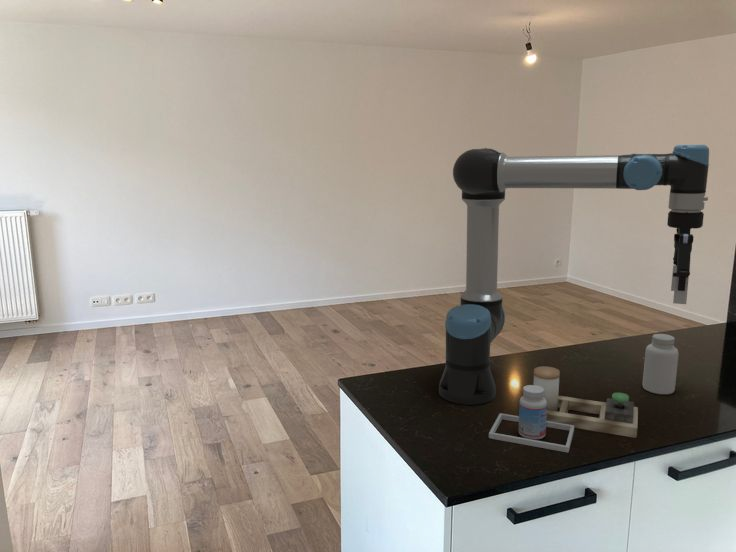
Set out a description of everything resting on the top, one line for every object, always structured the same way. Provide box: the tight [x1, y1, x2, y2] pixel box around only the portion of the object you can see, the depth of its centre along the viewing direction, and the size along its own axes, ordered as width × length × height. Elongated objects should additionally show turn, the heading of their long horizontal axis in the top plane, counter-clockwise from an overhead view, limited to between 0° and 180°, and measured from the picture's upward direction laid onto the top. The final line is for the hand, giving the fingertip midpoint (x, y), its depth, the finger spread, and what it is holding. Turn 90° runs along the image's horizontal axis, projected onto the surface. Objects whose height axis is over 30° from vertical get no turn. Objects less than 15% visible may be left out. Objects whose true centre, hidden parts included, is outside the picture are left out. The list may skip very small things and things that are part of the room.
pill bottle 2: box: [642, 333, 679, 395], centre depth 158 cm, size 8×8×15 cm
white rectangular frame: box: [488, 412, 575, 453], centre depth 136 cm, size 17×11×1 cm, turn 65°
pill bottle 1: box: [518, 384, 547, 440], centre depth 135 cm, size 6×6×11 cm
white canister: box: [533, 365, 561, 412], centre depth 147 cm, size 6×6×11 cm
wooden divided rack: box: [546, 395, 639, 439], centre depth 144 cm, size 26×12×4 cm, turn 65°
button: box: [611, 392, 630, 408], centre depth 139 cm, size 4×4×3 cm
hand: (678, 297), depth 146 cm, fingers open, 13 cm apart
